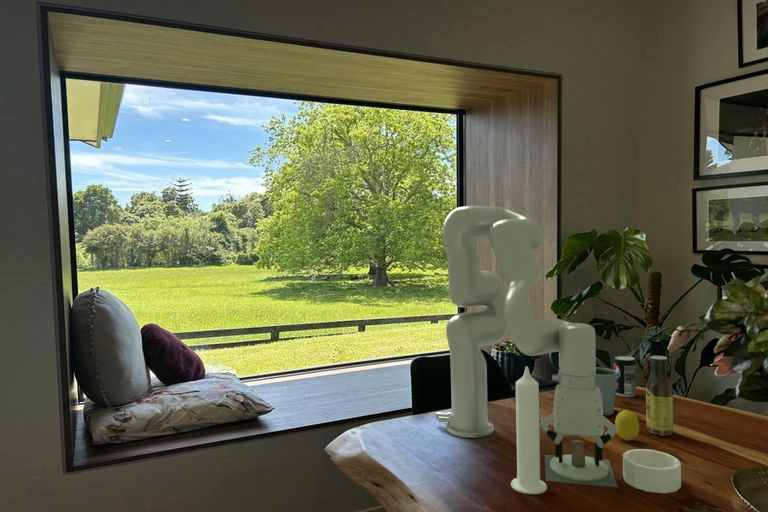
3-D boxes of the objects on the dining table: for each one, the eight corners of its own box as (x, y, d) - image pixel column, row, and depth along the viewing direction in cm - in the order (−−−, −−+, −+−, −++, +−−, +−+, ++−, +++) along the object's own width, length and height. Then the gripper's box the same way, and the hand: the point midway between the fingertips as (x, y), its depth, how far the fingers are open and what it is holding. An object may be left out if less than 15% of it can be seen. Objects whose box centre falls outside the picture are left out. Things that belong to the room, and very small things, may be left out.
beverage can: (613, 391, 179) (613, 355, 178) (635, 393, 176) (635, 356, 176) (614, 396, 172) (613, 359, 172) (637, 398, 170) (636, 360, 170)
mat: (545, 482, 113) (545, 480, 113) (544, 456, 126) (544, 454, 126) (618, 489, 109) (618, 487, 109) (608, 461, 123) (608, 459, 123)
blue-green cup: (573, 408, 162) (572, 368, 162) (601, 404, 165) (600, 365, 165) (596, 418, 152) (595, 376, 152) (625, 414, 155) (625, 372, 155)
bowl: (628, 491, 108) (627, 466, 108) (620, 470, 118) (620, 447, 118) (686, 497, 105) (686, 471, 105) (672, 474, 115) (672, 451, 115)
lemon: (642, 446, 131) (641, 413, 131) (617, 445, 132) (617, 412, 132) (636, 438, 137) (635, 406, 136) (612, 436, 138) (612, 405, 137)
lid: (550, 479, 113) (550, 450, 113) (548, 456, 125) (548, 431, 125) (612, 484, 110) (611, 455, 110) (604, 461, 122) (603, 434, 122)
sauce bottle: (649, 427, 144) (649, 353, 144) (675, 431, 140) (675, 355, 140) (643, 434, 139) (642, 357, 139) (670, 439, 135) (669, 360, 135)
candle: (540, 479, 114) (538, 362, 114) (551, 495, 107) (549, 370, 107) (507, 480, 114) (505, 363, 113) (516, 496, 107) (514, 371, 106)
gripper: (535, 383, 116) (537, 465, 116) (623, 387, 111) (624, 472, 112) (535, 374, 123) (537, 452, 124) (617, 378, 118) (618, 458, 119)
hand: (578, 461), depth 118 cm, fingers open, 6 cm apart
